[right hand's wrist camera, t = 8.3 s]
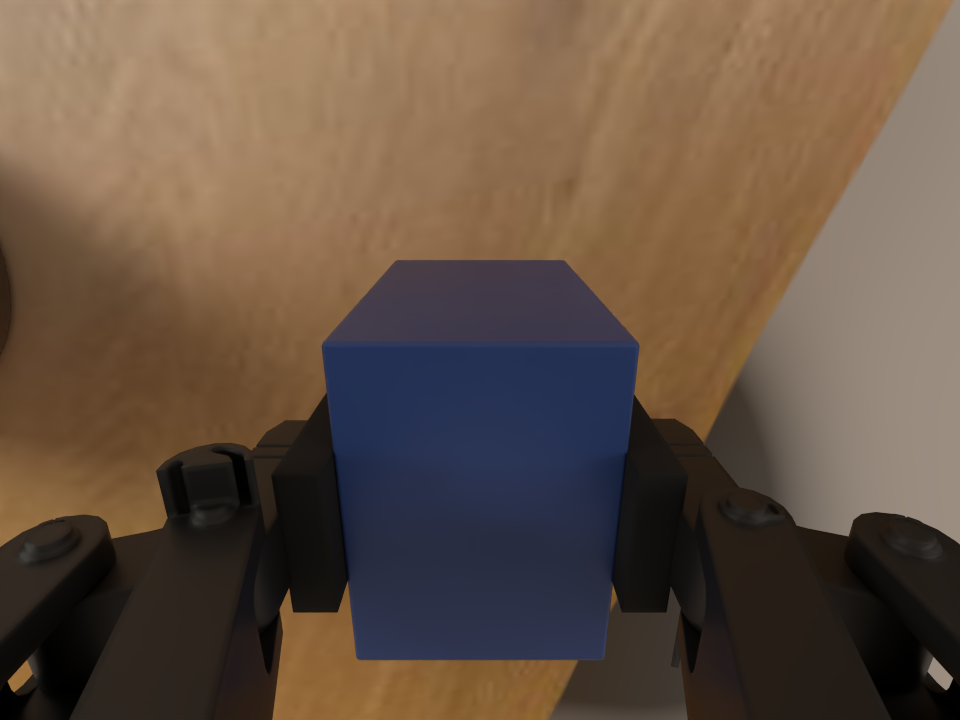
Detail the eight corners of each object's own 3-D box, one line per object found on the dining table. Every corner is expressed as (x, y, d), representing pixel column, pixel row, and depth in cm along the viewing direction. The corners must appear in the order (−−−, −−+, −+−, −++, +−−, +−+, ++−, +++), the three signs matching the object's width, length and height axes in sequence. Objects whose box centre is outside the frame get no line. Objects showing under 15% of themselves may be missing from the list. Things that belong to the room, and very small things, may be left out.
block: (565, 259, 15) (641, 343, 8) (554, 460, 17) (604, 662, 10) (394, 259, 15) (319, 342, 8) (406, 459, 17) (355, 662, 10)
